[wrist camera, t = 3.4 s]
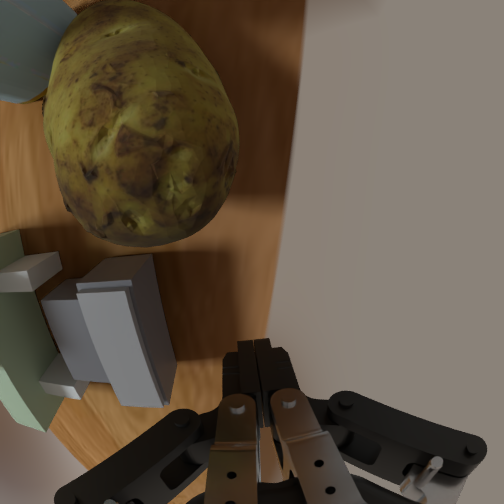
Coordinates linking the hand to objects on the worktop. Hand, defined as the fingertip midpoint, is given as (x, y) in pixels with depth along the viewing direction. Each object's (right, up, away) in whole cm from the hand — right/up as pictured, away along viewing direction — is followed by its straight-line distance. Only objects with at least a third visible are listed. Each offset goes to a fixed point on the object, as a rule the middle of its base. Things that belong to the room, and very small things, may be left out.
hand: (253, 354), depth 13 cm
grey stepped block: (-9, +1, +3) cm, 9 cm away
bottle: (-14, +18, -2) cm, 22 cm away
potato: (-5, +13, 0) cm, 14 cm away
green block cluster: (-15, 0, +3) cm, 15 cm away
